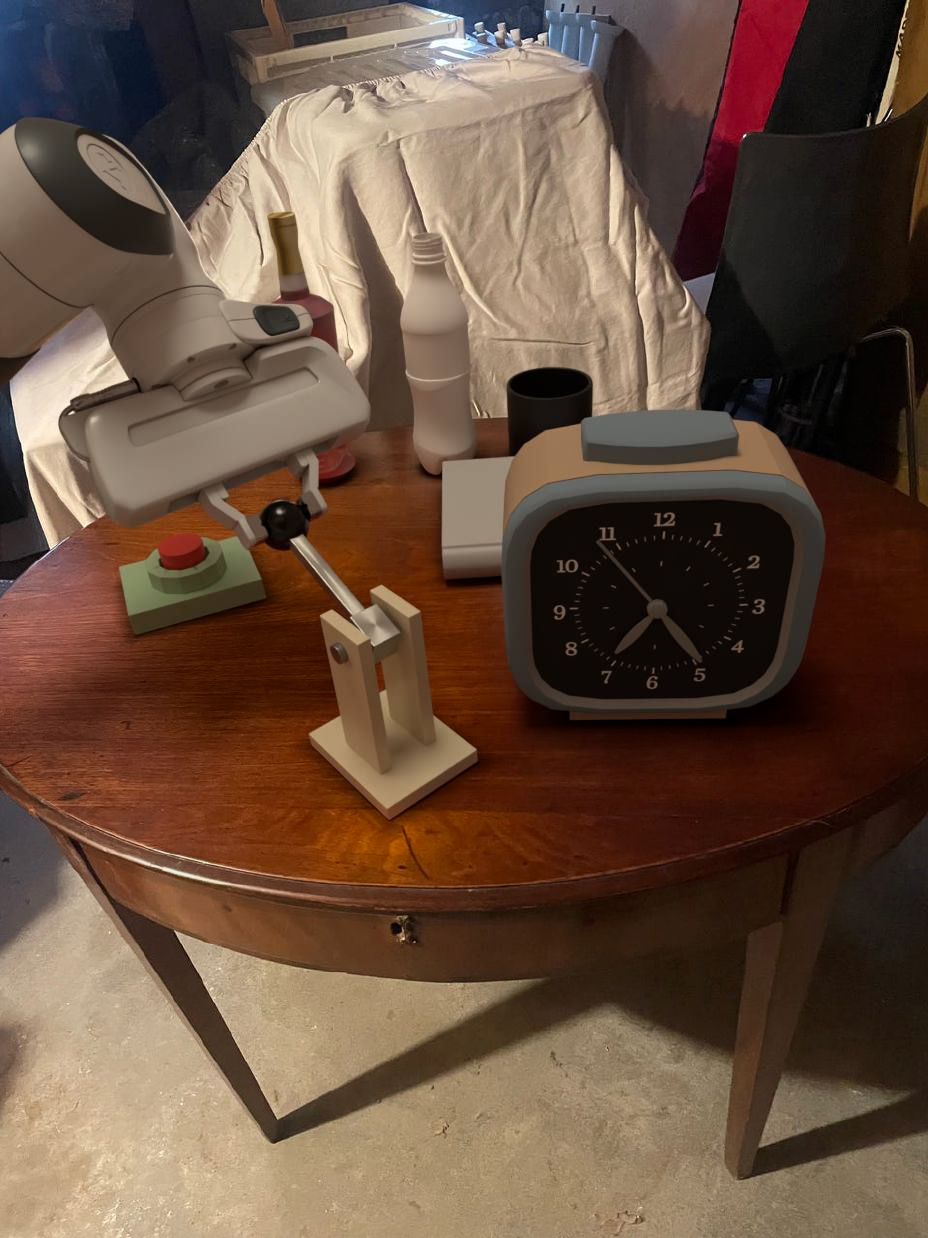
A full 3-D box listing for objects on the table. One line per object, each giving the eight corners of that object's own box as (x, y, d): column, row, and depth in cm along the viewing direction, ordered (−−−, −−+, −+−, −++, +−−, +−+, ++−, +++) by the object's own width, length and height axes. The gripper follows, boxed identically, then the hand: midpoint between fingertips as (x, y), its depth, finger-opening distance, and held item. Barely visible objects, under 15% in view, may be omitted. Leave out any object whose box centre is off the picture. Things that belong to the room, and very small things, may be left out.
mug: (549, 425, 108) (549, 353, 103) (608, 461, 99) (610, 384, 94) (483, 446, 105) (479, 372, 99) (537, 484, 96) (536, 406, 91)
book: (442, 461, 94) (667, 445, 93) (445, 492, 96) (665, 477, 95) (441, 552, 79) (709, 534, 78) (445, 587, 81) (704, 570, 81)
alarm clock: (509, 730, 66) (495, 469, 53) (511, 650, 73) (499, 405, 60) (792, 727, 64) (849, 457, 51) (763, 645, 71) (807, 392, 58)
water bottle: (409, 458, 103) (383, 233, 88) (467, 447, 105) (451, 223, 90) (425, 485, 98) (400, 249, 83) (486, 472, 99) (472, 238, 84)
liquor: (370, 465, 103) (333, 207, 86) (336, 494, 97) (290, 225, 81) (318, 456, 105) (272, 204, 89) (283, 484, 100) (227, 222, 84)
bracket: (310, 745, 66) (277, 607, 58) (396, 695, 70) (375, 559, 62) (389, 820, 59) (363, 677, 52) (478, 761, 63) (466, 619, 56)
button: (166, 576, 79) (160, 560, 78) (160, 555, 82) (155, 539, 81) (210, 564, 80) (205, 548, 79) (202, 544, 83) (198, 528, 82)
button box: (135, 635, 79) (122, 599, 76) (125, 585, 85) (113, 550, 83) (266, 598, 82) (257, 562, 79) (247, 553, 89) (238, 518, 86)
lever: (247, 534, 63) (246, 500, 60) (290, 516, 65) (291, 482, 62) (360, 677, 58) (366, 647, 55) (404, 652, 60) (411, 622, 57)
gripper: (45, 382, 54) (156, 576, 54) (323, 299, 64) (417, 462, 64) (45, 428, 60) (145, 604, 59) (301, 345, 70) (388, 496, 69)
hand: (288, 530), depth 62 cm, fingers closed on lever, 3 cm apart
